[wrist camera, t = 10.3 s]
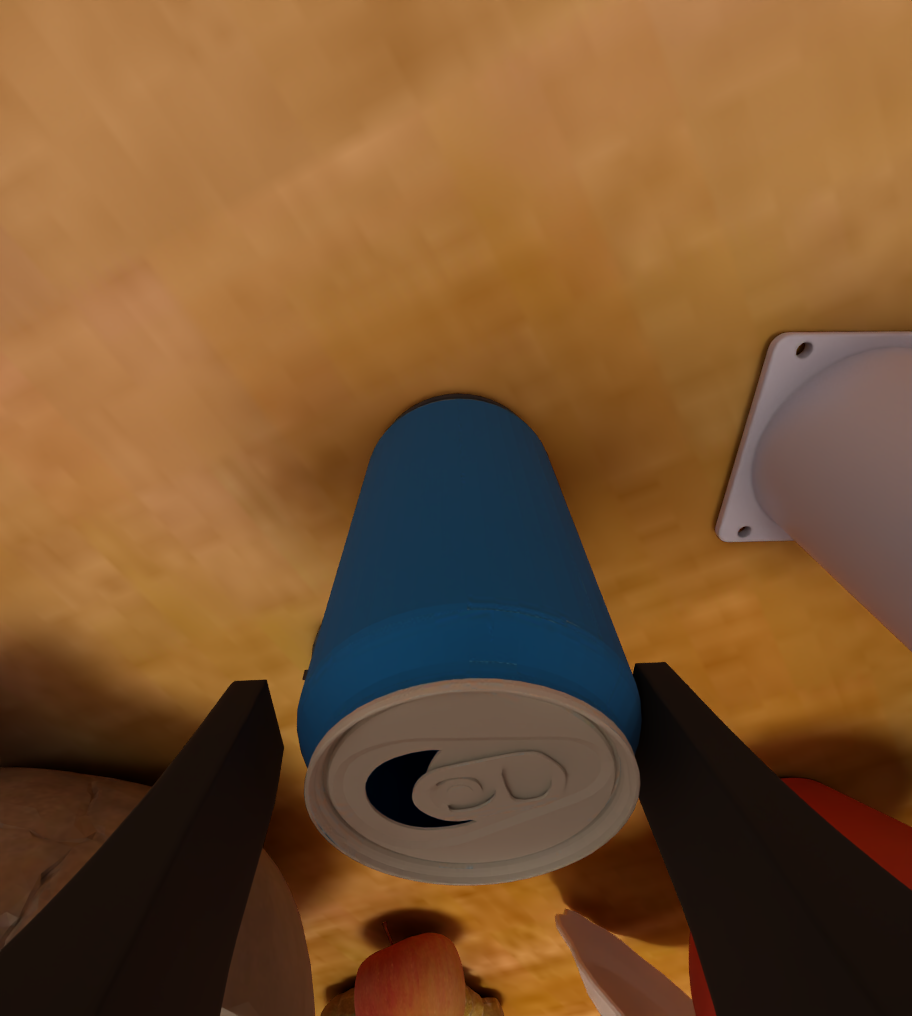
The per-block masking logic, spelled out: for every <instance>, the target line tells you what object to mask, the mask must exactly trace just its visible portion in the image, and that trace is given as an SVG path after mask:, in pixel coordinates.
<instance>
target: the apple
mask: <svg viewBox="0 0 912 1016" xmlns="http://www.w3.org/2000/svg"><path fill="white" fill-rule="evenodd" d="M382 925H383V927H384V929H385V931H386V934H387V936H388V939H389V941H390V943H391V945H392V946H390V947H387V948H385V949H382V950H380V951H378V952H376V953H374V954H372V955H371V956H369V957H368V958H367V959H366V960H365V961H364V962H363V963H362V964H361V966H360V967H359V969H358V972H357V976H356V981H355V991H354V1005H355V1014H356V1016H464V1010H465V979H464V973H463V968H462V964H461V960H460V957H459V954H458V952H457V949H456V948H455V946H454V944H453V943H452V941H451V940H450V939H449V938H447V937H446V936H444V935H441V934H438V933H424V934H420V935H417V936H413V937H409V938H406V939H403V940H401V941H399V942H397V943H395V944H393V942H392V940H391V937H390V935H389V932H388V929H387V922H384V923H382Z"/></svg>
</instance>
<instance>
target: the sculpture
mask: <svg viewBox="0 0 912 1016" xmlns="http://www.w3.org/2000/svg"><path fill="white" fill-rule="evenodd" d="M354 991H355V987H354V988H351V989H349V990H348V991H346V992H345V993H341V994H339V995H337V996H335V997H334V998H333V999H332V1000H331V1001H330V1002H329V1003H328V1004H327V1005H326V1006H325V1008H324V1009H323V1011H322V1013H321V1016H356V1014H355V1005H354ZM464 1016H504V1013H503V1010H502V1007H501V1005H500V1003H499V1001H498V1000H497V999H496V998H494V997H487V998H481V997H480V995H479V994H477V993H476V992H474V991H473V990H472V989H470V988H469V987H468V986H467V985H466V984H465V1010H464Z"/></svg>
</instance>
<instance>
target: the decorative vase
mask: <svg viewBox="0 0 912 1016" xmlns="http://www.w3.org/2000/svg"><path fill="white" fill-rule="evenodd" d="M780 779H781V780H782V781H783V782H784V783H785V784H786V785H787V786H788V787H790V788H791V789H792V790H793V791H794V792H795V793H796V794H797V795H798V796H799V797H800V798H802V799H803V800H804V801H805V802H806V803H807V804H808V805H809V806H810V807H811V808H813V809H814V810H815V811H816V812H817V813H818V814H819V815H820V816H822V817H823V818H824V819H825V820H826V821H827V822H828V823H830V824H831V825H832V826H833V827H834V828H835V829H837V830H838V831H839V832H840V833H841V834H842V835H844V836H845V837H846V838H847V839H849V840H850V841H851V842H852V843H853V844H855V845H856V846H857V847H858V848H859V849H861V850H862V851H863V852H864V853H866V854H867V855H868V856H869V857H870V858H872V859H873V860H874V861H875V862H877V863H878V864H879V865H880V866H881V867H883V868H884V869H885V870H886V871H888V872H889V873H890V874H891V875H893V876H894V877H895V878H897V879H898V880H899V881H900V882H902V883H903V884H904V885H906V886H907V887H908V888H909V889H911V890H912V827H910V826H908V825H906V824H904V823H902V822H900V821H898V820H896V819H894V818H892V817H890V816H888V815H886V814H884V813H882V812H880V811H878V810H875V809H873V808H871V807H869V806H867V805H865V804H863V803H861V802H859V801H857V800H855V799H853V798H851V797H849V796H847V795H844V794H842V793H840V792H838V791H836V790H834V789H832V788H830V787H828V786H826V785H824V784H822V783H820V782H817V781H814V780H810V779H805V778H780ZM689 976H690V986H691V994H692V1000H693V1005H694V1010H695V1014H696V1016H716V1013H715V1009H714V1006H713V1002H712V999H711V995H710V992H709V989H708V986H707V982H706V979H705V976H704V972H703V969H702V966H701V963H700V959H699V956H698V953H697V949H696V946H695V943H694V940H693V937H692V934H691V931H690V937H689Z"/></svg>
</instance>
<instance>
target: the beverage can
mask: <svg viewBox="0 0 912 1016" xmlns="http://www.w3.org/2000/svg"><path fill="white" fill-rule="evenodd" d="M641 724H642V714H641V701H640V696H639V692H638V689H637V685H636V682H635V680H634V677H633V675H632V672H631V670H630V667H629V664H628V662H627V659H626V657H625V654H624V651H623V649H622V646H621V644H620V641H619V639H618V636H617V633H616V631H615V628H614V626H613V623H612V621H611V618H610V615H609V613H608V610H607V608H606V605H605V602H604V600H603V597H602V595H601V592H600V590H599V587H598V584H597V582H596V579H595V577H594V574H593V572H592V569H591V566H590V564H589V561H588V559H587V556H586V553H585V551H584V548H583V546H582V543H581V541H580V538H579V535H578V533H577V530H576V528H575V525H574V522H573V520H572V517H571V515H570V512H569V510H568V507H567V504H566V502H565V499H564V497H563V494H562V492H561V489H560V486H559V484H558V481H557V479H556V476H555V473H554V471H553V468H552V466H551V463H550V461H549V458H548V455H547V453H546V451H545V449H544V447H543V445H542V443H541V441H540V440H539V438H538V437H537V435H536V434H535V433H534V432H533V430H532V429H531V428H530V427H529V426H528V425H527V424H526V423H525V422H523V421H522V420H521V419H520V418H519V417H517V416H516V415H514V414H512V413H511V412H509V411H508V410H505V409H503V408H501V407H499V406H497V405H494V404H490V403H487V402H484V401H478V400H472V399H449V400H441V401H437V402H433V403H429V404H426V405H424V406H421V407H418V408H417V409H415V410H413V411H411V412H409V413H407V414H406V415H404V416H403V417H401V418H400V419H399V420H397V421H396V422H395V423H394V424H393V425H392V426H391V427H390V428H388V430H387V431H386V432H385V433H384V434H383V436H382V437H381V438H380V440H379V442H378V443H377V445H376V447H375V448H374V451H373V453H372V455H371V458H370V461H369V464H368V468H367V471H366V475H365V478H364V481H363V485H362V488H361V492H360V495H359V499H358V502H357V505H356V509H355V512H354V516H353V519H352V522H351V526H350V529H349V533H348V536H347V539H346V543H345V546H344V550H343V553H342V556H341V560H340V563H339V567H338V570H337V574H336V577H335V580H334V584H333V587H332V591H331V594H330V597H329V601H328V604H327V608H326V611H325V614H324V618H323V621H322V625H321V628H320V631H319V635H318V638H317V642H316V645H315V649H314V652H313V655H312V659H311V662H310V666H309V669H308V672H307V676H306V679H305V683H304V686H303V689H302V693H301V697H300V701H299V705H298V711H297V732H298V738H299V744H300V749H301V753H302V756H303V758H304V761H305V764H306V766H307V768H308V770H307V773H306V777H305V785H304V798H305V803H306V808H307V811H308V813H309V815H310V818H311V820H312V822H313V823H314V825H315V826H316V828H317V829H318V831H319V832H320V833H321V834H322V835H323V836H324V837H325V838H326V839H327V841H328V842H329V843H331V844H332V845H333V846H334V847H336V848H337V849H338V850H339V851H341V852H342V853H344V854H345V855H347V856H348V857H350V858H352V859H353V860H355V861H357V862H359V863H361V864H363V865H365V866H367V867H370V868H372V869H375V870H377V871H380V872H383V873H386V874H389V875H393V876H396V877H399V878H404V879H409V880H413V881H418V882H425V883H433V884H444V885H487V884H497V883H505V882H512V881H517V880H522V879H527V878H531V877H535V876H539V875H542V874H546V873H549V872H552V871H555V870H557V869H560V868H563V867H565V866H567V865H570V864H572V863H574V862H576V861H579V860H580V859H582V858H584V857H586V856H588V855H589V854H591V853H593V852H594V851H596V850H597V849H599V848H600V847H601V846H603V845H604V844H606V843H607V842H608V841H609V840H610V839H611V838H612V837H613V836H615V835H616V834H617V833H618V832H619V830H620V829H621V828H622V827H623V826H624V825H625V823H626V822H627V821H628V819H629V817H630V816H631V814H632V812H633V811H634V809H635V806H636V803H637V801H638V798H639V792H640V785H641V784H640V772H639V768H638V765H637V762H636V759H635V753H636V750H637V747H638V744H639V739H640V732H641Z"/></svg>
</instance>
